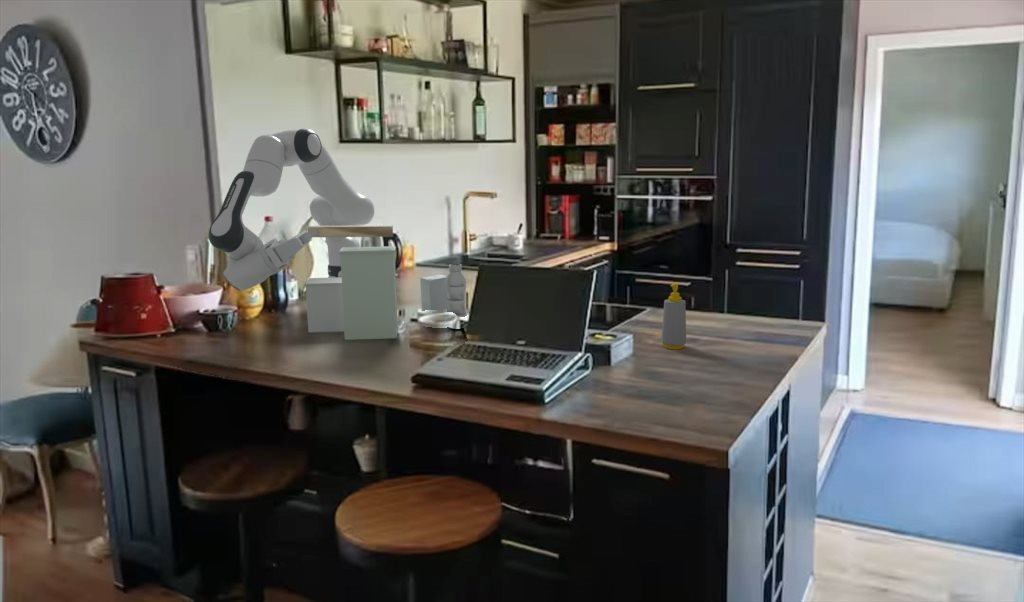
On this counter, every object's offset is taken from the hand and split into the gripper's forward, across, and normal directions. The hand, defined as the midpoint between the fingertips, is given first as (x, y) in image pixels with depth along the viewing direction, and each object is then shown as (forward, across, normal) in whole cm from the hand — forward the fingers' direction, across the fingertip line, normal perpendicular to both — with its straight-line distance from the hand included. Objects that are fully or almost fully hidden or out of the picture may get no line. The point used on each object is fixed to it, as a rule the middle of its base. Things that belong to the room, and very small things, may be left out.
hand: (318, 229), depth 231 cm
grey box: (-16, -12, -28) cm, 34 cm away
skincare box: (+13, -16, -44) cm, 49 cm away
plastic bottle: (+18, -4, -47) cm, 51 cm away
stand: (-4, 0, -34) cm, 35 cm away
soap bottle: (+69, +26, -77) cm, 107 cm away
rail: (+7, 0, -6) cm, 9 cm away
